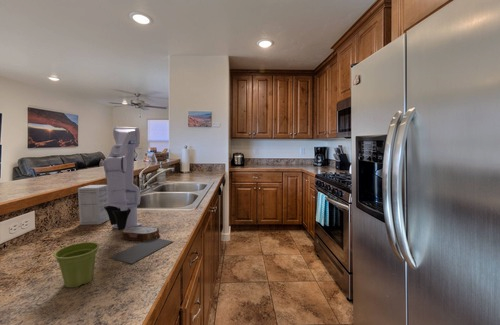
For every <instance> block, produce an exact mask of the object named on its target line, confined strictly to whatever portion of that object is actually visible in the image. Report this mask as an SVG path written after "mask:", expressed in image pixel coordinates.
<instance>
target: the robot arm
mask: <svg viewBox="0 0 500 325" xmlns="http://www.w3.org/2000/svg"><path fill="white" fill-rule="evenodd" d="M112 130H113V131H112V133H113V134H112V135H113V140H114V142H115V144H114V145H112V147H111V149H110V153H109V155H108V156H107V157H106V158H104V160H103V170H104V175H105V178H106V185H107V194H108V202H107V205H108V206H105V207H104V208H105V210H106V211H107V213H108V216H109V220H108V221H109V222H110V225H111V228H115V229H118V231H120V230H121V231H122V230H124V229H127V228H129V227H133V226H143V223H141V222H138V206H139V205H140V204H141V188H140V187H139V186H137V185H136V184H134V173H135V172H134V171H135V170H134V168H135V166H134V165H135V151H136V148H139V147H140V138H141V137H140V136H141V135H140V134H141V133H140V132H141V131H140V128H139V127H138V126H135V127H134V126H133V127H132V126H131V127H130V126H114V127H113V129H112Z"/></svg>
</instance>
